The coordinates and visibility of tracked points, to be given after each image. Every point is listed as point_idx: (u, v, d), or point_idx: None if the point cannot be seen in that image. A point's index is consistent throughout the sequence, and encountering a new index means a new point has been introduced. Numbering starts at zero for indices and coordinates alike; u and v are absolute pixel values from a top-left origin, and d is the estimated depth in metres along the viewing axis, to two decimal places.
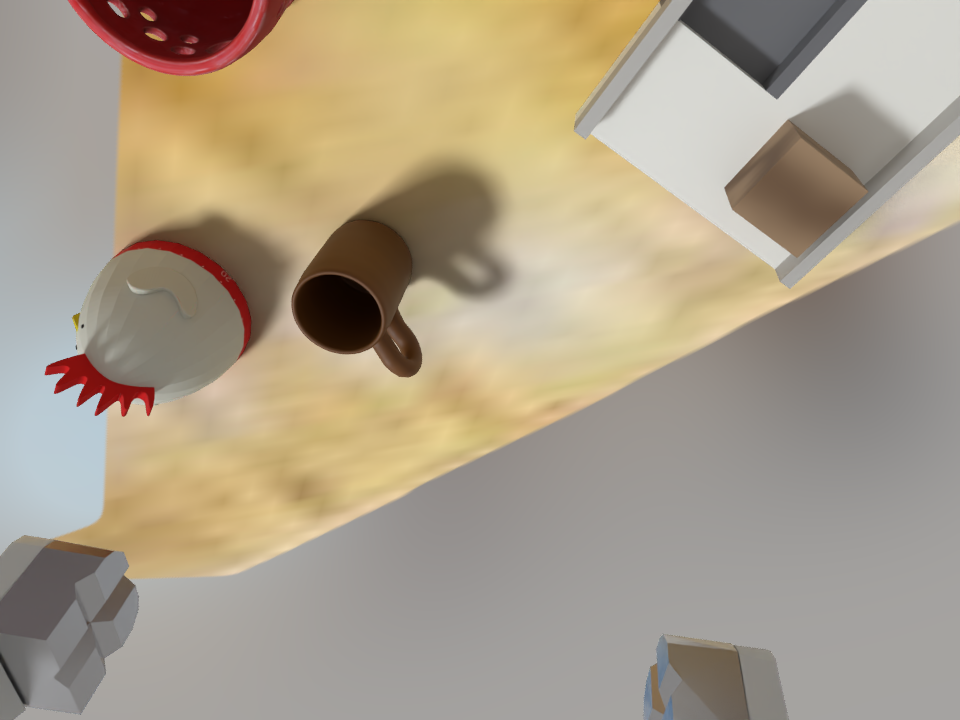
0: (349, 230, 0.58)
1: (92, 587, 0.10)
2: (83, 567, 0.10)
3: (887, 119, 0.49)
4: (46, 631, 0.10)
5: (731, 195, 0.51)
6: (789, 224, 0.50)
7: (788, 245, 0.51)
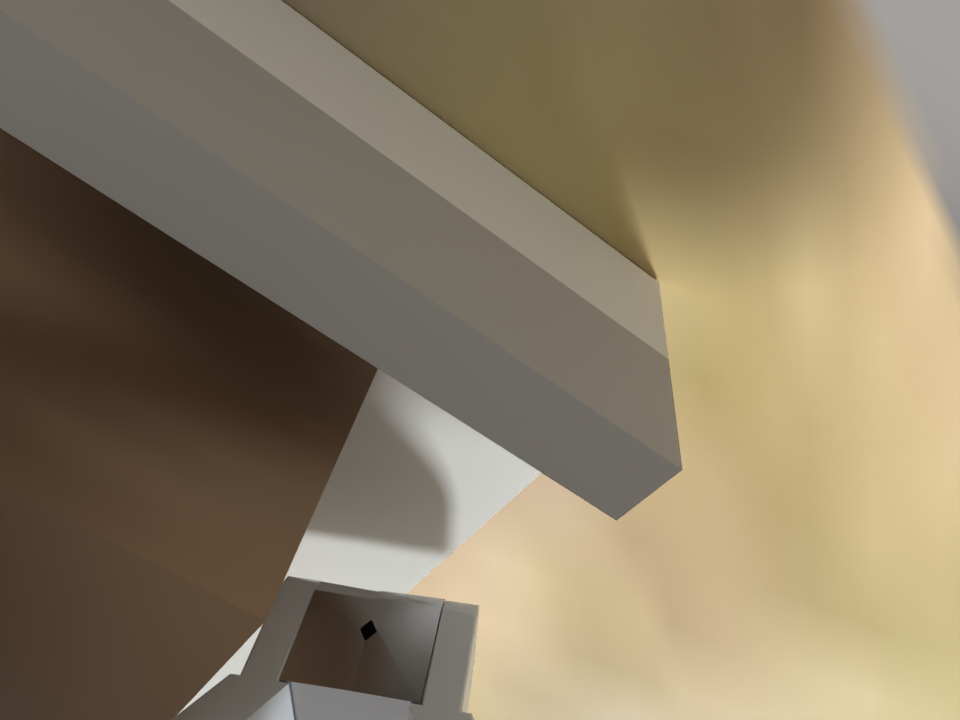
0: None
1: (370, 631, 0.10)
2: (362, 611, 0.10)
3: None
4: (349, 681, 0.09)
5: None
6: (42, 653, 0.07)
7: (185, 658, 0.07)
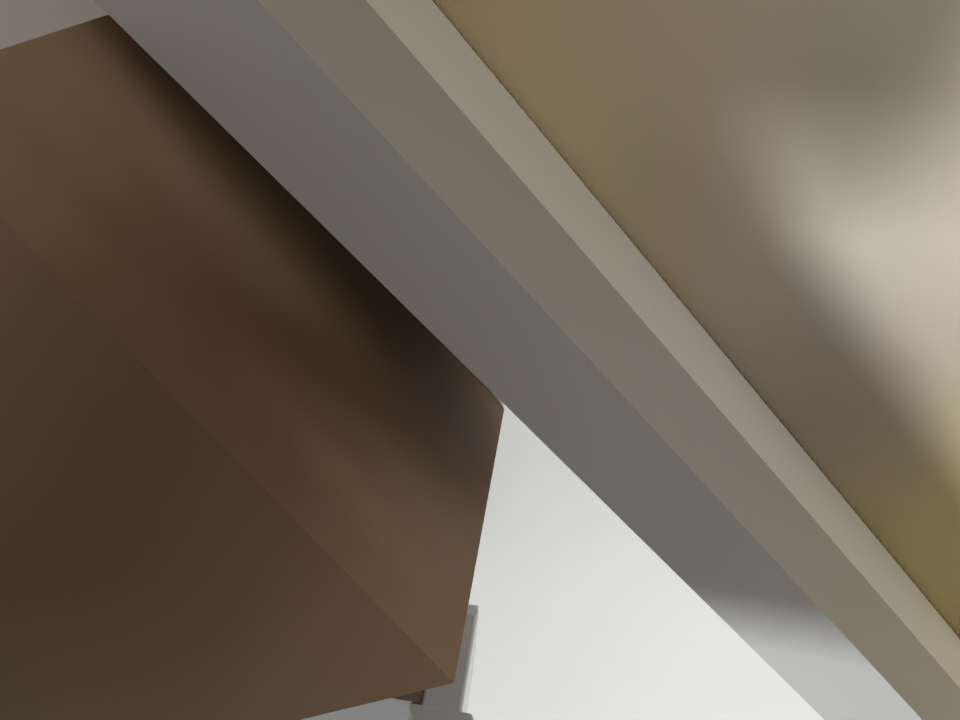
0: None
1: None
2: None
3: None
4: None
5: None
6: (171, 643, 0.07)
7: (334, 687, 0.07)
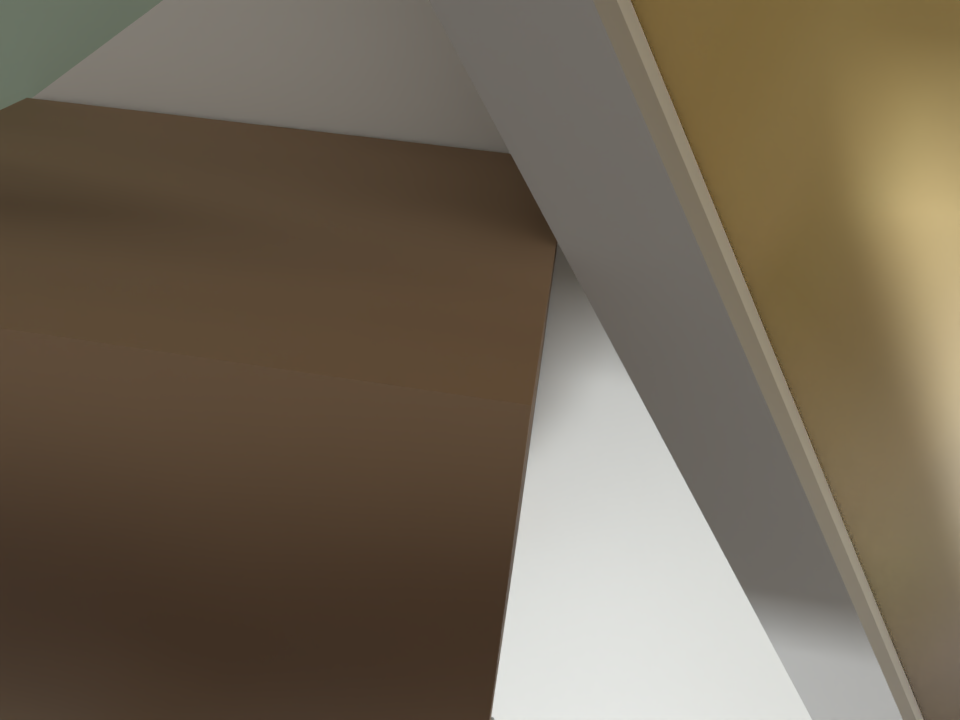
0: None
1: None
2: None
3: None
4: None
5: None
6: None
7: None
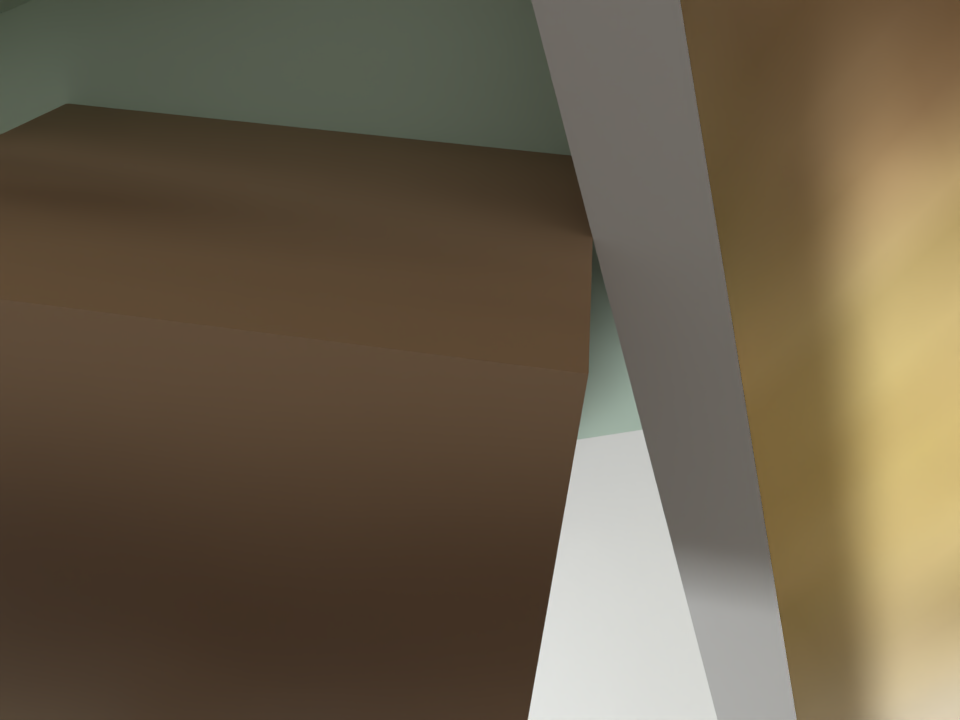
0: None
1: None
2: None
3: None
4: None
5: None
6: (299, 708, 0.07)
7: None
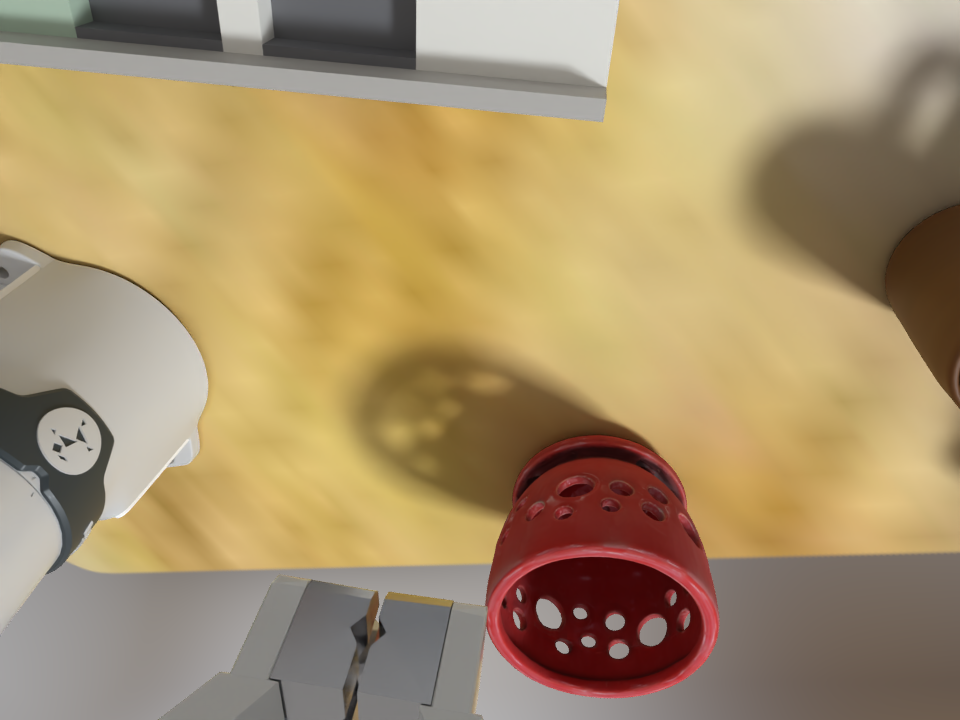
0: None
1: (361, 630, 0.10)
2: (353, 609, 0.10)
3: None
4: (338, 679, 0.09)
5: None
6: None
7: None
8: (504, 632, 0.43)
